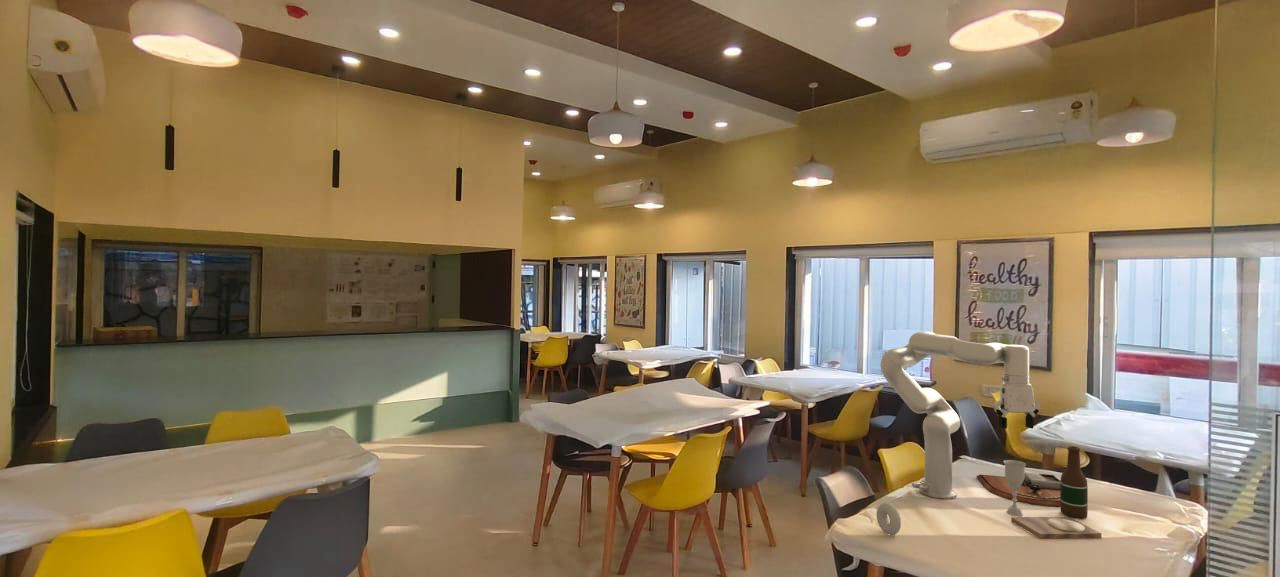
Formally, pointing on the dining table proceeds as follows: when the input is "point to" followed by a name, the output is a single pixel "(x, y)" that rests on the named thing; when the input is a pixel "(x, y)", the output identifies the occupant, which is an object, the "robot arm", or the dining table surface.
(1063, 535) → the walnut board
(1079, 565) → the dining table surface
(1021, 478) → the chalice
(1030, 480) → the wooden control board
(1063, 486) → the beer bottle
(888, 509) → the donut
